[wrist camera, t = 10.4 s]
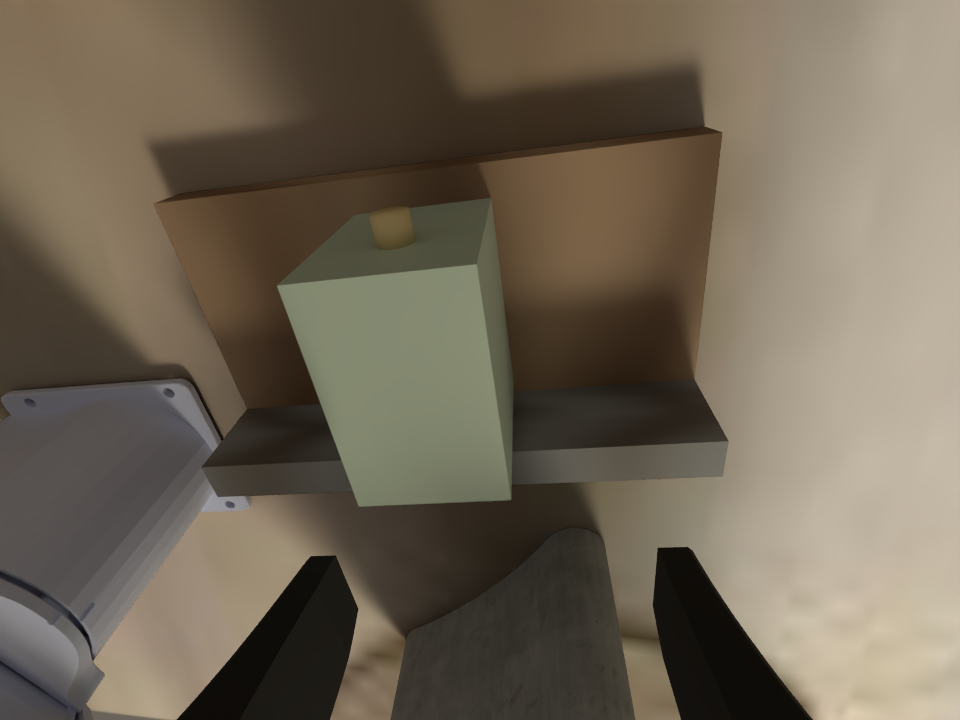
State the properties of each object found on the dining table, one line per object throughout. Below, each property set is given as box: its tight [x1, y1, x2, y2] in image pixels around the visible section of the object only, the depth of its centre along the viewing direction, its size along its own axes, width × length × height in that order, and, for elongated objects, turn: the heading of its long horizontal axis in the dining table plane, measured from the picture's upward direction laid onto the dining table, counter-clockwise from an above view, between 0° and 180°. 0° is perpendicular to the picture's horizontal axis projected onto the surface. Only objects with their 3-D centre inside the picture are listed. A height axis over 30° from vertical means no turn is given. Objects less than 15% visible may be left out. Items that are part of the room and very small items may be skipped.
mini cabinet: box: [277, 198, 514, 507], centre depth 15 cm, size 4×8×6 cm, turn 8°
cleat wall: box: [154, 127, 728, 497], centre depth 17 cm, size 18×10×5 cm, turn 98°
